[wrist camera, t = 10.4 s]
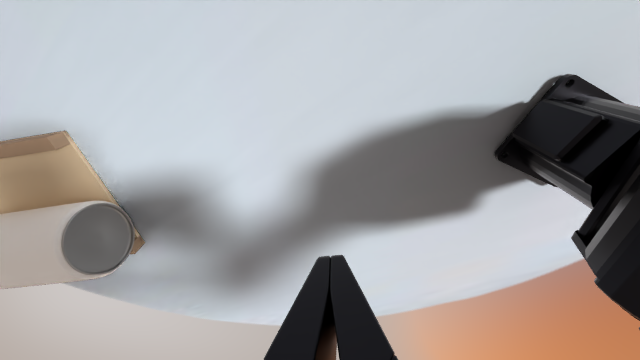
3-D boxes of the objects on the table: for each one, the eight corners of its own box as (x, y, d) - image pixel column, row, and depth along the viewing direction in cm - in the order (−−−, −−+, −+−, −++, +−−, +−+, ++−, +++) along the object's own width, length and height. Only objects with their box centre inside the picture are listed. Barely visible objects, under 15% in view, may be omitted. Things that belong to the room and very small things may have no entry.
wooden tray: (65, 130, 19) (46, 137, 18) (145, 242, 25) (135, 253, 24) (-79, 154, 21) (-106, 162, 19) (28, 254, 27) (13, 265, 25)
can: (141, 263, 24) (37, 274, 25) (133, 196, 24) (30, 211, 25) (63, 294, 17) (-71, 307, 19) (52, 203, 17) (-80, 223, 19)
